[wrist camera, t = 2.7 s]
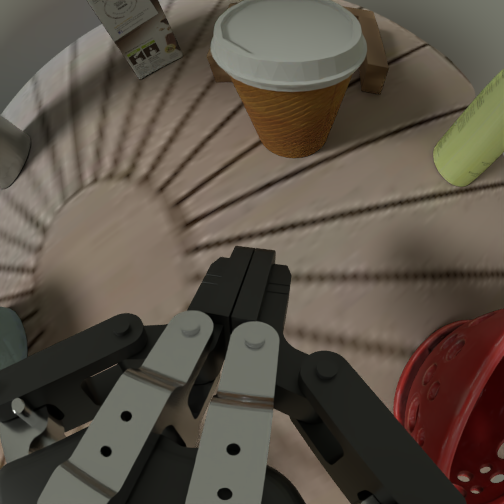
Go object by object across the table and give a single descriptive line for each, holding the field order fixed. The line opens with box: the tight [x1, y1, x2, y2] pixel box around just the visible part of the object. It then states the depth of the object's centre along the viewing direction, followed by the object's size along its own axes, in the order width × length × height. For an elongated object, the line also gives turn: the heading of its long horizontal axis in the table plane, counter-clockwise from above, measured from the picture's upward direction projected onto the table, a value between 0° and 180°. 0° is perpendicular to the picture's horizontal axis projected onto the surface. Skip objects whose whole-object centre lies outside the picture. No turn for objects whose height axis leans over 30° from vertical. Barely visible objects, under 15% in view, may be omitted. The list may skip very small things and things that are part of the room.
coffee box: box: [87, 0, 183, 79], centre depth 21 cm, size 9×6×16 cm
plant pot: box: [394, 309, 504, 504], centre depth 12 cm, size 13×13×12 cm
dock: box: [207, 3, 389, 94], centre depth 24 cm, size 17×12×4 cm
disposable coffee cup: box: [211, 0, 367, 158], centre depth 18 cm, size 10×10×12 cm
